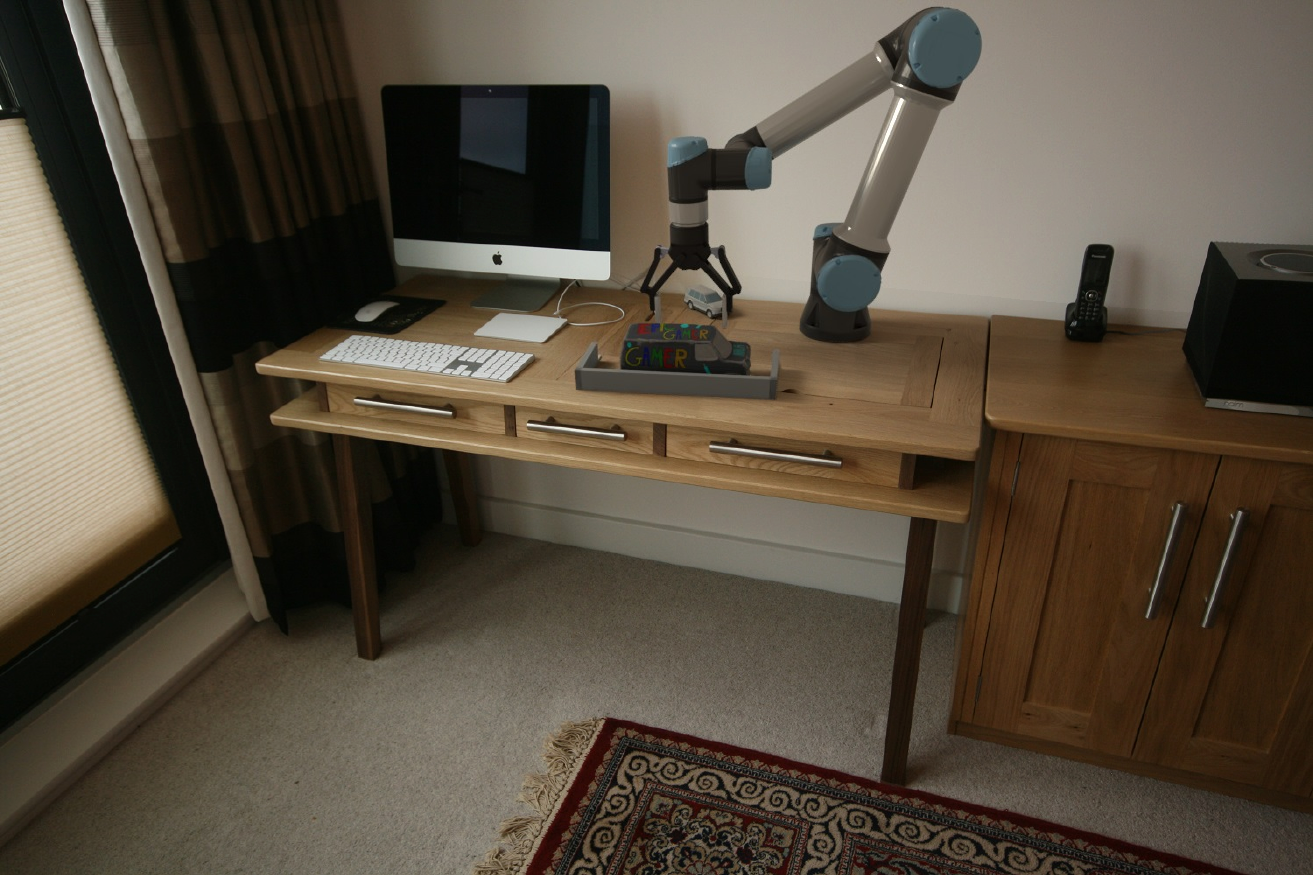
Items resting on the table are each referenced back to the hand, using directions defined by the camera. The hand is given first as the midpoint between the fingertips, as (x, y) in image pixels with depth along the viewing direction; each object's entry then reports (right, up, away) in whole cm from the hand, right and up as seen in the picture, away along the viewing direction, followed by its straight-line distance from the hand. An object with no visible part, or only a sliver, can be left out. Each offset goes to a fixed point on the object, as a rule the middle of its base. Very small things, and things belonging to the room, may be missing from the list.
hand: (691, 326), depth 177 cm
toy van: (-1, -12, -10) cm, 15 cm away
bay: (-3, -11, -10) cm, 15 cm away
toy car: (+5, +6, +24) cm, 25 cm away
